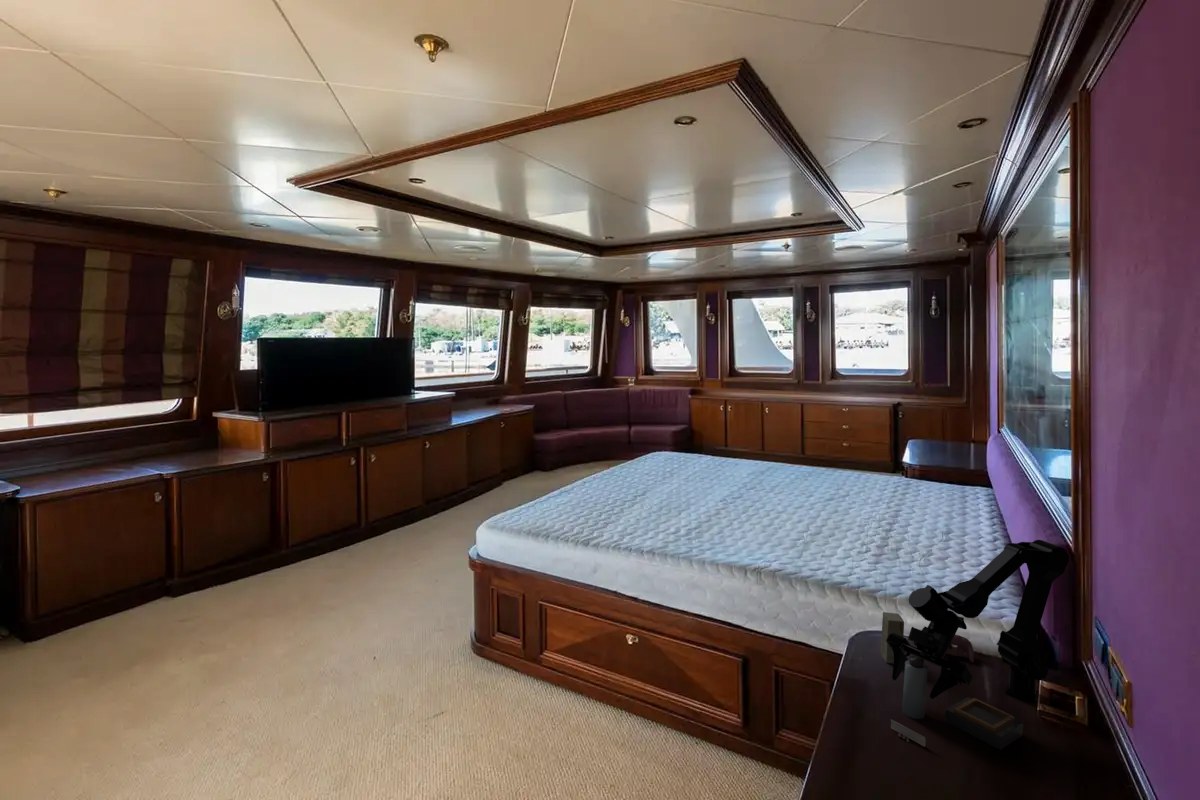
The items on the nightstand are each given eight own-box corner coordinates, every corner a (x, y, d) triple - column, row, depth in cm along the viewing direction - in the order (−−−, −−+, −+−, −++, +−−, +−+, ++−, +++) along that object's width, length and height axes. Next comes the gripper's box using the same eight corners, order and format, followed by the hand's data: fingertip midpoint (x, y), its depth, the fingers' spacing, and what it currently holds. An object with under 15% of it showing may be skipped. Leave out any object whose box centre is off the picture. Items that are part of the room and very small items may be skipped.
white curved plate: (916, 753, 133) (916, 740, 132) (881, 734, 139) (882, 721, 139) (925, 748, 135) (926, 735, 134) (890, 729, 141) (891, 716, 141)
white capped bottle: (905, 704, 150) (909, 651, 149) (927, 713, 147) (930, 658, 146) (899, 713, 147) (902, 659, 146) (921, 721, 144) (924, 666, 142)
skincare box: (902, 665, 169) (905, 622, 168) (885, 663, 170) (888, 620, 169) (896, 654, 176) (898, 612, 175) (880, 652, 177) (882, 611, 176)
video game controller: (971, 663, 175) (970, 637, 177) (975, 663, 171) (974, 636, 173) (932, 656, 178) (932, 631, 180) (936, 656, 174) (935, 630, 176)
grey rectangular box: (967, 708, 149) (968, 693, 149) (1022, 735, 139) (1023, 719, 139) (944, 721, 144) (946, 705, 144) (1000, 750, 134) (1001, 733, 134)
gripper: (892, 601, 155) (862, 654, 150) (969, 630, 139) (939, 691, 134) (908, 624, 160) (880, 676, 155) (984, 655, 144) (956, 714, 139)
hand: (911, 688), depth 146 cm, fingers open, 9 cm apart
